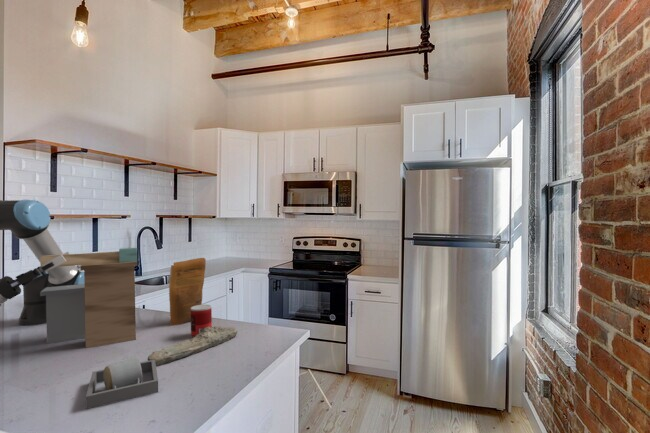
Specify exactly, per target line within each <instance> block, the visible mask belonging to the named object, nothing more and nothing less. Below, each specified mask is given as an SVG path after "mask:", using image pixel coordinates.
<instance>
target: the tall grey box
mask: <svg viewBox="0 0 650 433" xmlns="http://www.w3.org/2000/svg"><path fill="white" fill-rule="evenodd" d="M45 295H46V320H47V323H46V344H47V345H48V344H54V343H60V342H61V343H62V342H66V341H67V342H68V341H72V340H74V341H75V340H79V339H86V334H85V284H78V285H67V286H57V287H46V288H45V289H44V290H42V291H41V292H40V296H45Z"/></svg>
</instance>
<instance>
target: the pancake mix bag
mask: <svg viewBox="0 0 650 433" xmlns="http://www.w3.org/2000/svg"><path fill="white" fill-rule="evenodd" d="M206 262H207V260H206V258H205V257H198V258H193V259H188V260H182V261H176V262H173V265H171V266H170V272H169V275H170V276H169V280H168V281H169V282H168V295H169V296H168V298H169V299H168V300H169V315H170V322H169V326H180V325H183V324H186V323H187V324H188V323H191V307H193V306H197V305H203V304H202V303H203V289H204V288H203V287H204V282H205V272H206V265H207V264H206Z"/></svg>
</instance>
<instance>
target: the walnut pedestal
mask: <svg viewBox="0 0 650 433" xmlns="http://www.w3.org/2000/svg"><path fill="white" fill-rule="evenodd" d="M135 267H138V260H137V261H136V262H122V263H119V262H117V263H102V264H88V265H81V266H80V268H79V269H81V270H83V271H84V283H85V334H86V338H85V348H86V349H89V348H94V347H99V346H101V347H102V346H105V345H111V344H118V343H124V342H130V341H135V340H137V335H136V334H137V331H136V329H137V327H136V325H137V324H136V321H137V320H136V285H135V284H136V279H135V278H136V275H135V269H136V268H135Z"/></svg>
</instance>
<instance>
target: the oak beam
mask: <svg viewBox="0 0 650 433" xmlns="http://www.w3.org/2000/svg"><path fill="white" fill-rule="evenodd" d="M58 256H60V255H47V256H40V262H39V263H40V266H41V265H43V264H45V263H47V262H49V261H50V260H52V259H54V258H56V257H58ZM62 256H63V257H64V258H65V260H66V262H64V263H62V264H60V265H58V266H56V267H60V266H74V265H75V266H77V265H88V264H102V263H117V262H119V263H122V262H136V261H137V262H138V247H126V248H125V247H124V248H122V247H121V248H119V250H118V251H104V252H84V253H70V254H65V255H62ZM41 267H42V266H41Z"/></svg>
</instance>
